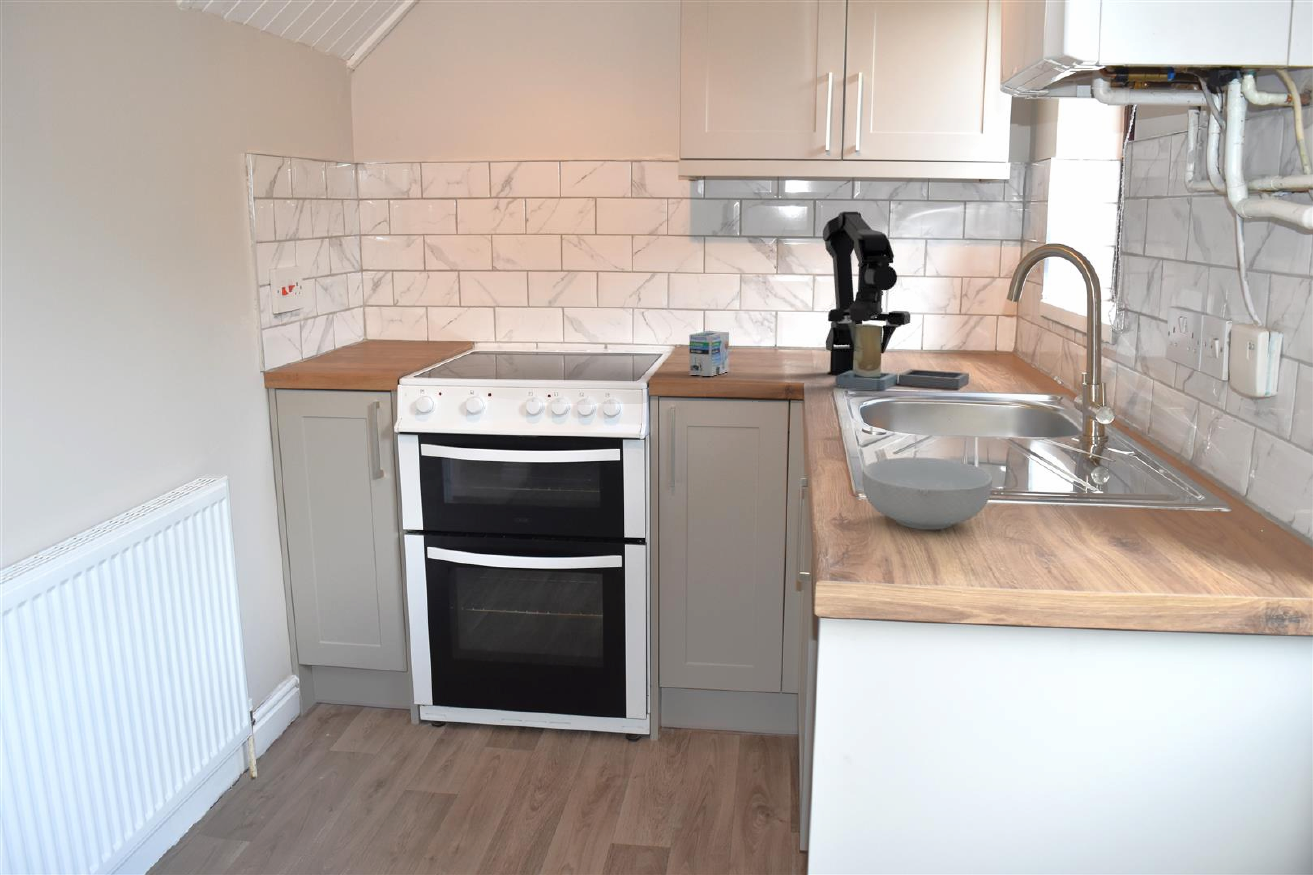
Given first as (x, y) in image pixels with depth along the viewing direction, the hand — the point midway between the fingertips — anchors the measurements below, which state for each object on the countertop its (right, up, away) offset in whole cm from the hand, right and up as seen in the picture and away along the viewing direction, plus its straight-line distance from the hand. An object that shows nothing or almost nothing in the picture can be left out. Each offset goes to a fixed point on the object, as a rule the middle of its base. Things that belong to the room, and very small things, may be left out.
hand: (867, 352), depth 251 cm
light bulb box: (-37, -4, +21) cm, 43 cm away
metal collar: (+17, -8, +3) cm, 18 cm away
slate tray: (0, -8, +2) cm, 8 cm away
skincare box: (0, -6, +1) cm, 6 cm away
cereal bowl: (-14, -32, -109) cm, 114 cm away
